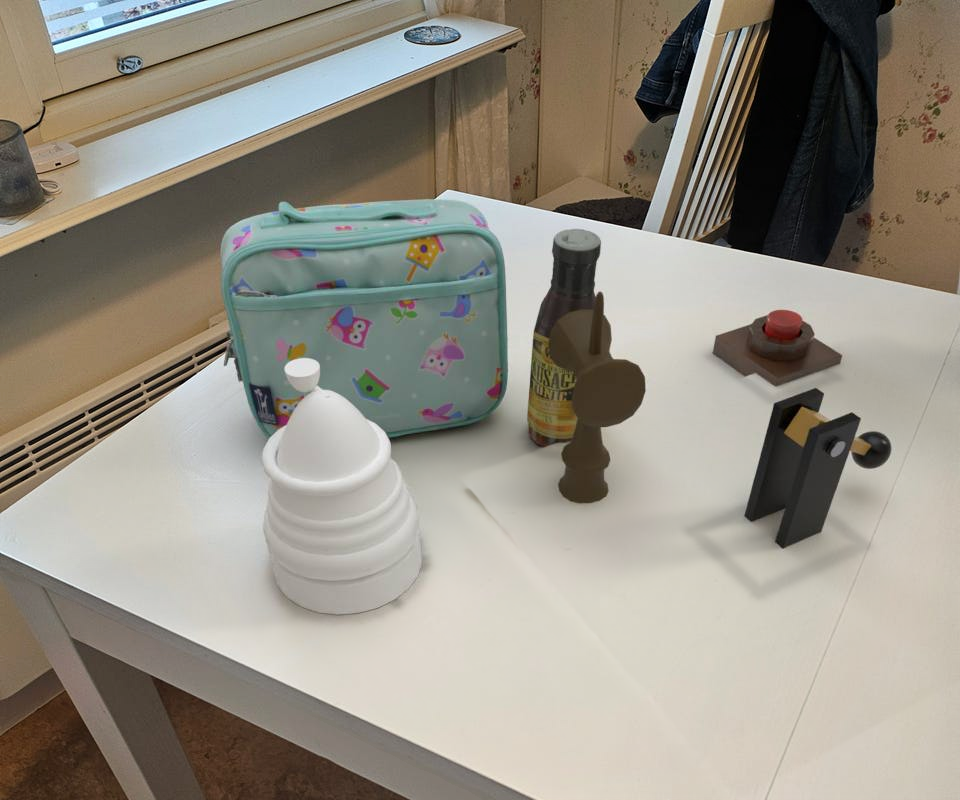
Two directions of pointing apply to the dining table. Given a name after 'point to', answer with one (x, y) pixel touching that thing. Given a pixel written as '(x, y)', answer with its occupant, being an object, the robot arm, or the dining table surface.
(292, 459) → the honey pot
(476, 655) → the dining table surface
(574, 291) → the sauce bottle
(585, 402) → the kendama
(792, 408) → the switch bracket
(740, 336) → the button block
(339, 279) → the lunch box
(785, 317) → the light button
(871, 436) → the switch lever
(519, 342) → the dining table surface
